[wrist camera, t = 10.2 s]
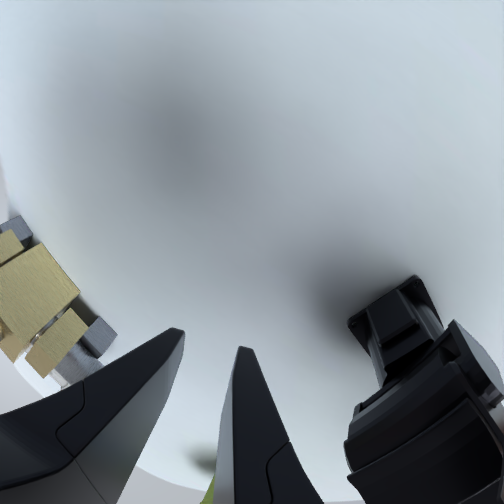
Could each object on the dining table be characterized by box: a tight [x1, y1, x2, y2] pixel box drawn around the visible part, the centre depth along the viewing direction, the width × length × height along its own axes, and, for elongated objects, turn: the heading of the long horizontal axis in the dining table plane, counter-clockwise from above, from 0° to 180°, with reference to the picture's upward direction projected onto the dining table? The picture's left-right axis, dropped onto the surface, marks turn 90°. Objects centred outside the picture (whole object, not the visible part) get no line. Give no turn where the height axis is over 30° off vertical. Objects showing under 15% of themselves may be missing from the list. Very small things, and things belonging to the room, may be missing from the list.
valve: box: [0, 216, 117, 385], centre depth 19 cm, size 16×5×9 cm, turn 39°
